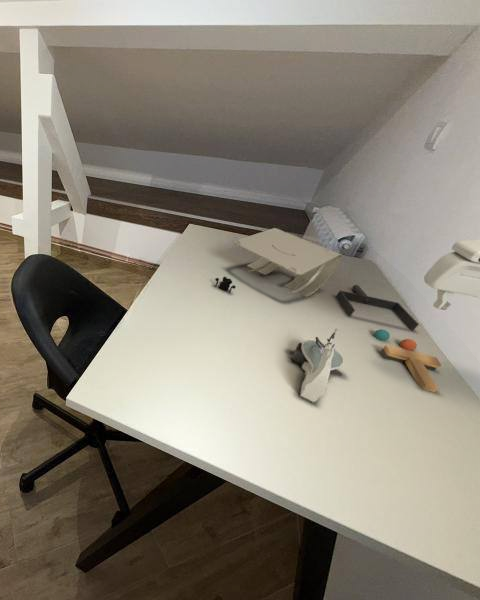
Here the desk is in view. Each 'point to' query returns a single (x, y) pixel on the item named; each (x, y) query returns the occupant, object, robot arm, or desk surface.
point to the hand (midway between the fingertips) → (464, 313)
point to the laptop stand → (292, 259)
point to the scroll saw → (316, 366)
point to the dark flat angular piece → (365, 299)
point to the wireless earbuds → (225, 284)
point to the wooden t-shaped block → (414, 365)
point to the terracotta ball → (408, 344)
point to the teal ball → (382, 335)
